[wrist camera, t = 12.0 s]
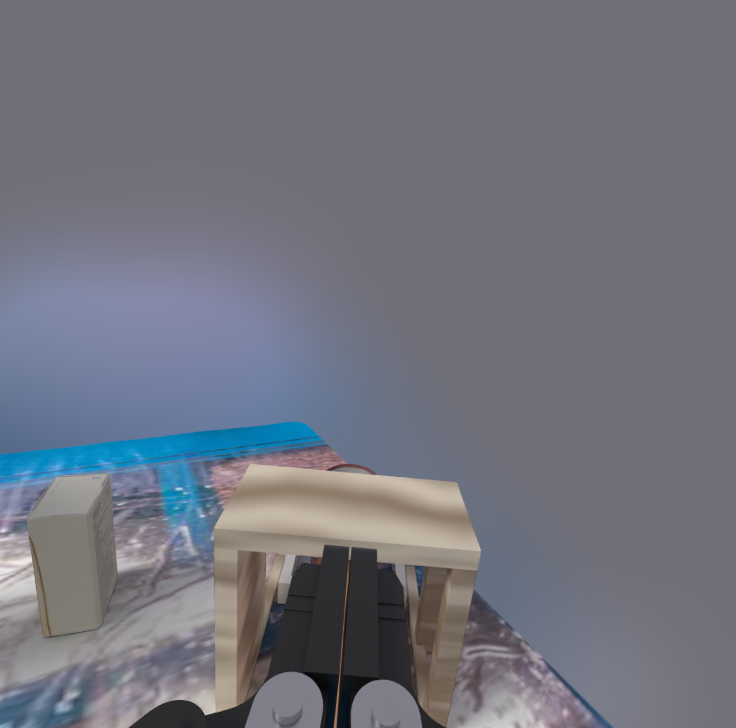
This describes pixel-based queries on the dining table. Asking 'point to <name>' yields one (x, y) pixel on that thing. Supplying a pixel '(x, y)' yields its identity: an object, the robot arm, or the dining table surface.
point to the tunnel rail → (351, 529)
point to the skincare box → (73, 553)
